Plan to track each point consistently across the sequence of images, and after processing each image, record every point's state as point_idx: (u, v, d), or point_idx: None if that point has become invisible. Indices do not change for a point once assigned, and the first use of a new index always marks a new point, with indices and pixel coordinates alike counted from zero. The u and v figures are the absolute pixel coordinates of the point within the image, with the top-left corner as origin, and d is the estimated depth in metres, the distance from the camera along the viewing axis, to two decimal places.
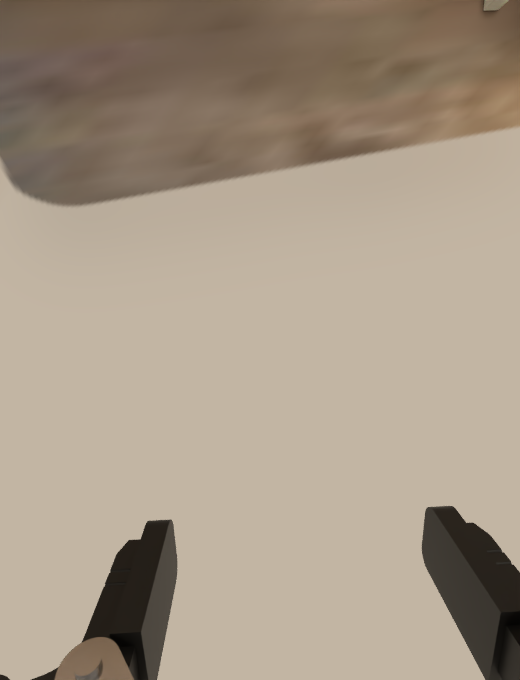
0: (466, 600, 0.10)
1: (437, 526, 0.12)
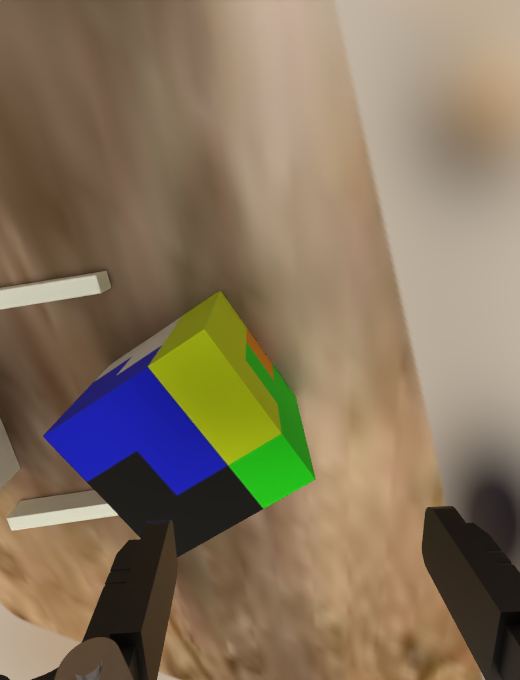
0: (466, 600, 0.10)
1: (437, 526, 0.12)
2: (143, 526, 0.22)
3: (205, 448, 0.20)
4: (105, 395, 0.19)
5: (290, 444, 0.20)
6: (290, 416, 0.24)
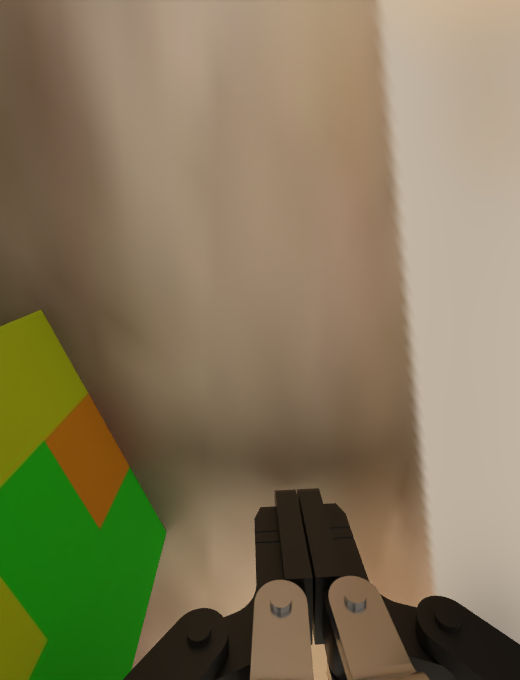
0: None
1: (299, 506, 0.13)
2: None
3: None
4: None
5: None
6: (95, 646, 0.10)
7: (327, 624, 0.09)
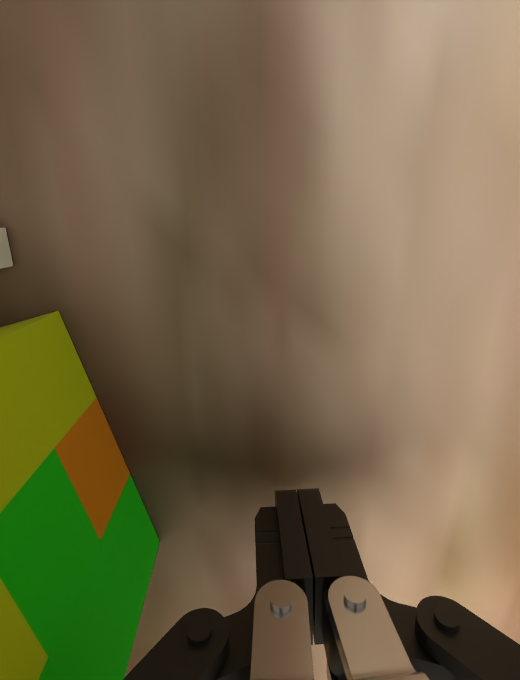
0: None
1: (299, 506, 0.13)
2: None
3: None
4: None
5: None
6: (90, 663, 0.10)
7: (327, 624, 0.09)
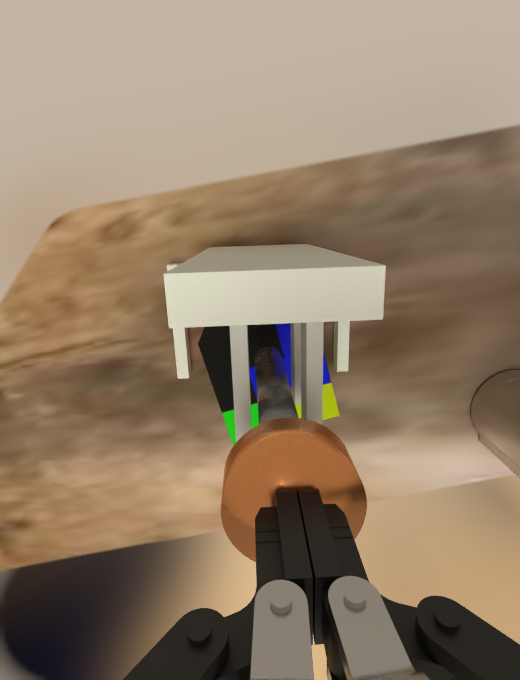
0: None
1: (299, 506, 0.13)
2: None
3: None
4: (323, 355, 0.34)
5: None
6: None
7: (327, 624, 0.09)
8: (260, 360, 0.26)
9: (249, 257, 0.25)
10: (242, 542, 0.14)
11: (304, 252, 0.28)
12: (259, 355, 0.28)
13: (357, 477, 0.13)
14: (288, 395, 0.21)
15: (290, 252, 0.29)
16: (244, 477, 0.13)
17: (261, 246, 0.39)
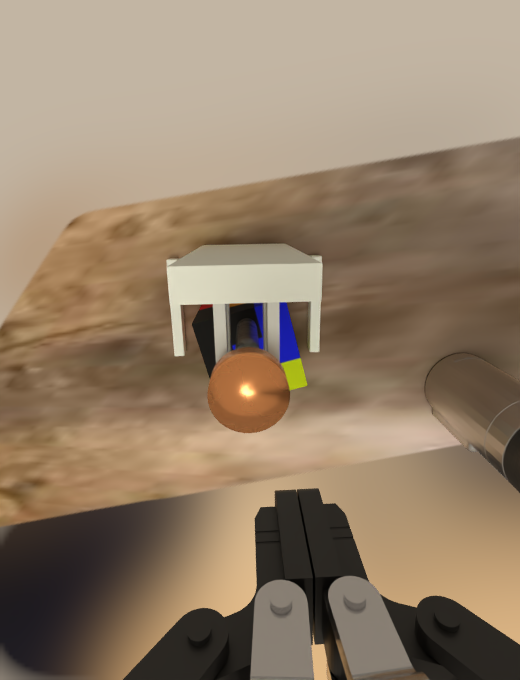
0: None
1: (299, 506, 0.13)
2: None
3: None
4: (294, 335, 0.42)
5: None
6: None
7: (327, 624, 0.09)
8: (239, 326, 0.37)
9: (231, 255, 0.33)
10: (219, 415, 0.24)
11: (276, 251, 0.36)
12: (239, 324, 0.38)
13: (283, 376, 0.24)
14: (255, 345, 0.31)
15: (265, 251, 0.36)
16: (220, 375, 0.24)
17: (246, 245, 0.46)
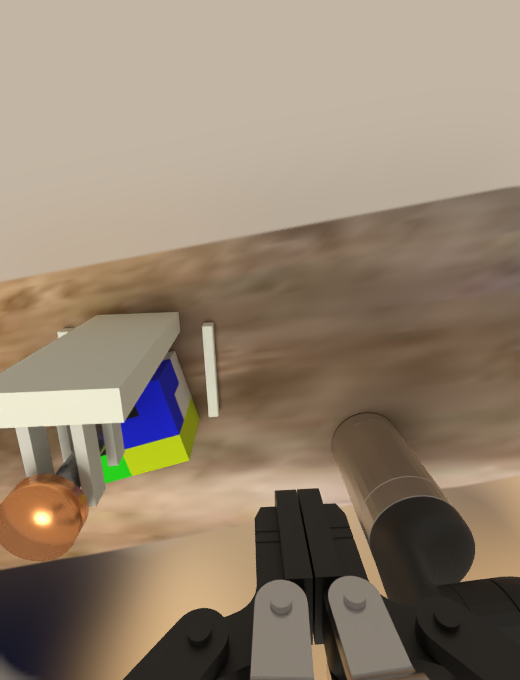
0: None
1: (299, 506, 0.13)
2: None
3: (132, 444, 0.43)
4: (170, 413, 0.42)
5: None
6: None
7: (327, 624, 0.09)
8: None
9: (75, 354, 0.33)
10: (8, 545, 0.25)
11: (131, 342, 0.36)
12: None
13: (66, 510, 0.24)
14: None
15: (122, 341, 0.37)
16: (2, 510, 0.24)
17: (134, 317, 0.47)
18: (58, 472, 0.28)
